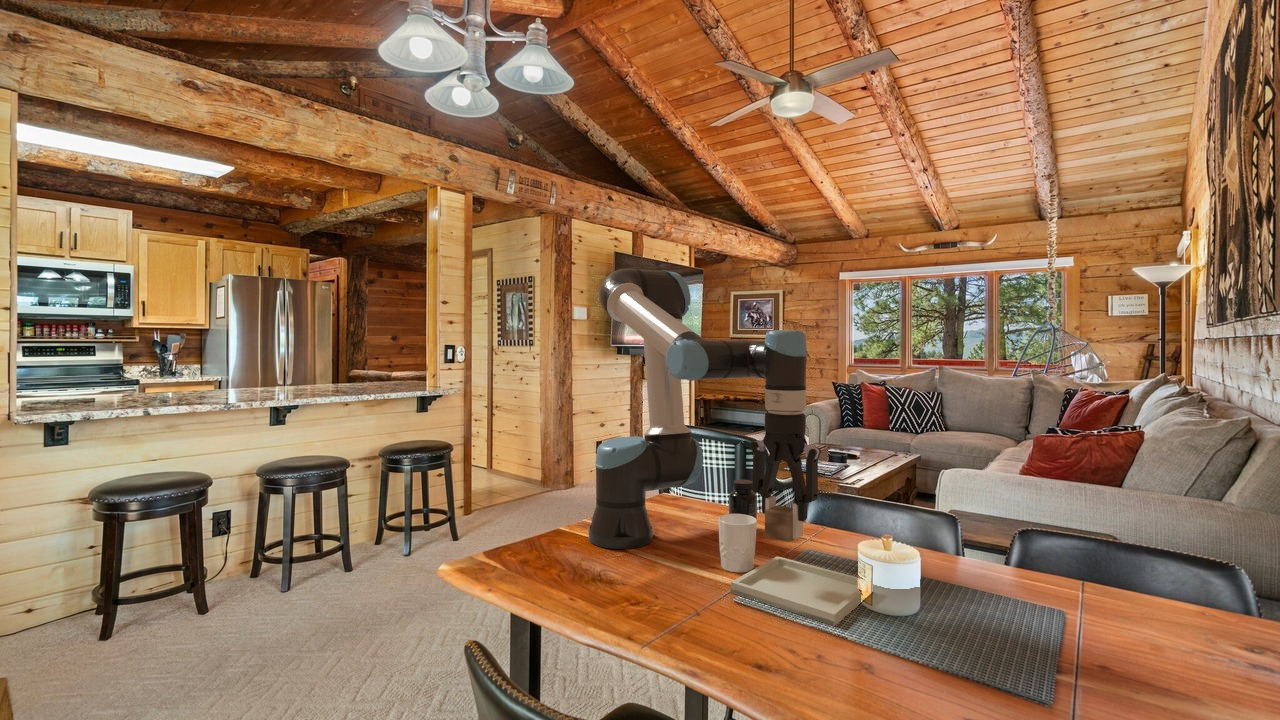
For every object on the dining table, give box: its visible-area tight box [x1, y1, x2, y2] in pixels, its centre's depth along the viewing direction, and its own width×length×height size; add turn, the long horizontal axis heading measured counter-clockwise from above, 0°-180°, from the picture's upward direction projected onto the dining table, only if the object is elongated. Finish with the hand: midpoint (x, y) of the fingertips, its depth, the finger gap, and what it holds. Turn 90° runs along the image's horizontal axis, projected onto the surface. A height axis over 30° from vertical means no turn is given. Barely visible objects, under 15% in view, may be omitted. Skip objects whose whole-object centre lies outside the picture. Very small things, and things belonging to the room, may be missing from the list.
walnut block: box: [764, 504, 795, 543], centre depth 116 cm, size 5×5×5 cm
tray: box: [730, 555, 862, 627], centre depth 114 cm, size 20×18×2 cm
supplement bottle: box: [728, 479, 758, 520], centre depth 151 cm, size 7×7×12 cm
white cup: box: [717, 513, 758, 573], centre depth 126 cm, size 8×8×10 cm
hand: (783, 533), depth 116 cm, fingers closed on walnut block, 5 cm apart
